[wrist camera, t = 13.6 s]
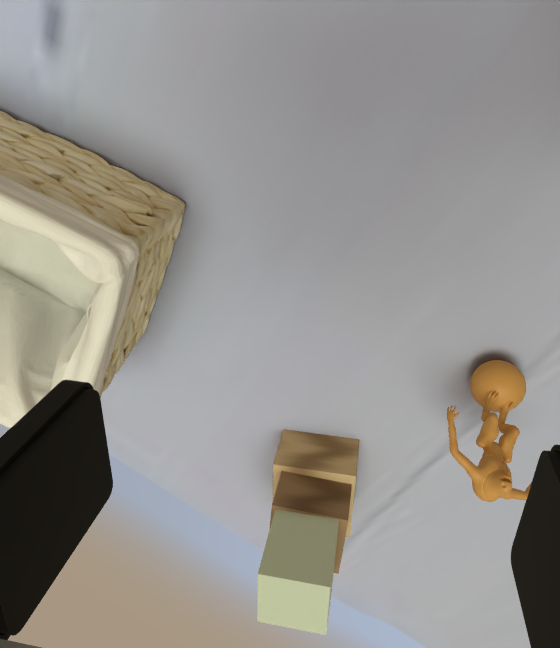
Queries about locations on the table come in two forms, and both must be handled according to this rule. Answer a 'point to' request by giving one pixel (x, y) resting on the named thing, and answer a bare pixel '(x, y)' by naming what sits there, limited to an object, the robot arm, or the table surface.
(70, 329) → the storage basket
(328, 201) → the table surface
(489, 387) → the figurine
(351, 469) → the oak block
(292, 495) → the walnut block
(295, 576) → the sage block
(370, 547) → the table surface
